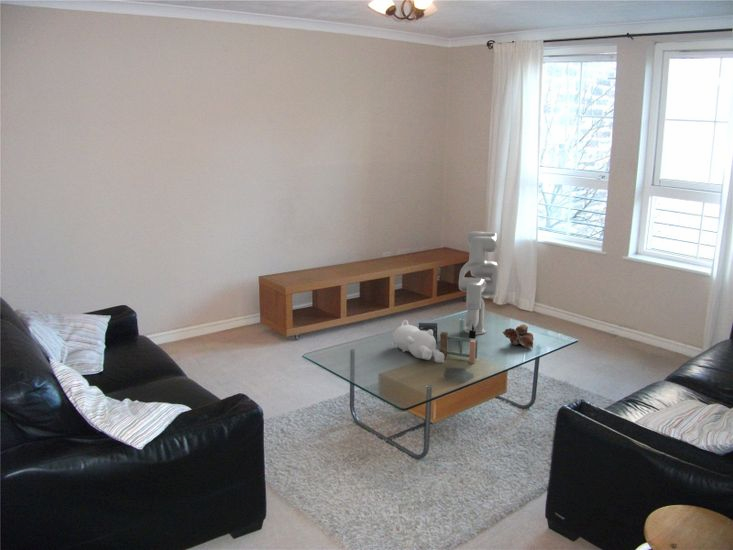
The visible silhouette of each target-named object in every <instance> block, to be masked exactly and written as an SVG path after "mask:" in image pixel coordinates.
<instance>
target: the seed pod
mask: <svg viewBox="0 0 733 550" xmlns="http://www.w3.org/2000/svg"><path fill="white" fill-rule="evenodd" d="M528 330H529V327H528V325H526V324H525V323H524V324H520V325H519V326H516V328H512V327H510V328H506V329H505V330H504V331H502V334H503V335H504V336H505V338H507V339H509V342H510V344H511V345H514V346H517V345H520V346H521V345H522V346H523V347H524V348H526V347H527V348H532V349H533V348H534V347H533V346H534V340H535V339H534V335H533V333H531V332H528Z"/></svg>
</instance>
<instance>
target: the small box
mask: <svg viewBox="0 0 733 550" xmlns="http://www.w3.org/2000/svg"><path fill="white" fill-rule="evenodd" d="M418 329H419V330H420V331H428V330H429V329H432V331H433V336H434V338H435V340H436V345H437V344H438V322H434V323H433V322H418Z"/></svg>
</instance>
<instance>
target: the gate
mask: <svg viewBox="0 0 733 550" xmlns="http://www.w3.org/2000/svg"><path fill="white" fill-rule="evenodd" d="M448 340H450V341H451V340H452V341H459V351H452V350H447V355H451V356H458V357H463V358H464V357H465V358H469V353H465V352H463V342H465V343H466V342H467V343H470V341H471V340H476V348H475V359H477V358H478V348H479V346H478V344H479V339H476V338H475V339H472V338H469V337H468V338H467V337H459V336H453V335H448ZM448 344H449V343H448V341H447V345H448Z"/></svg>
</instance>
